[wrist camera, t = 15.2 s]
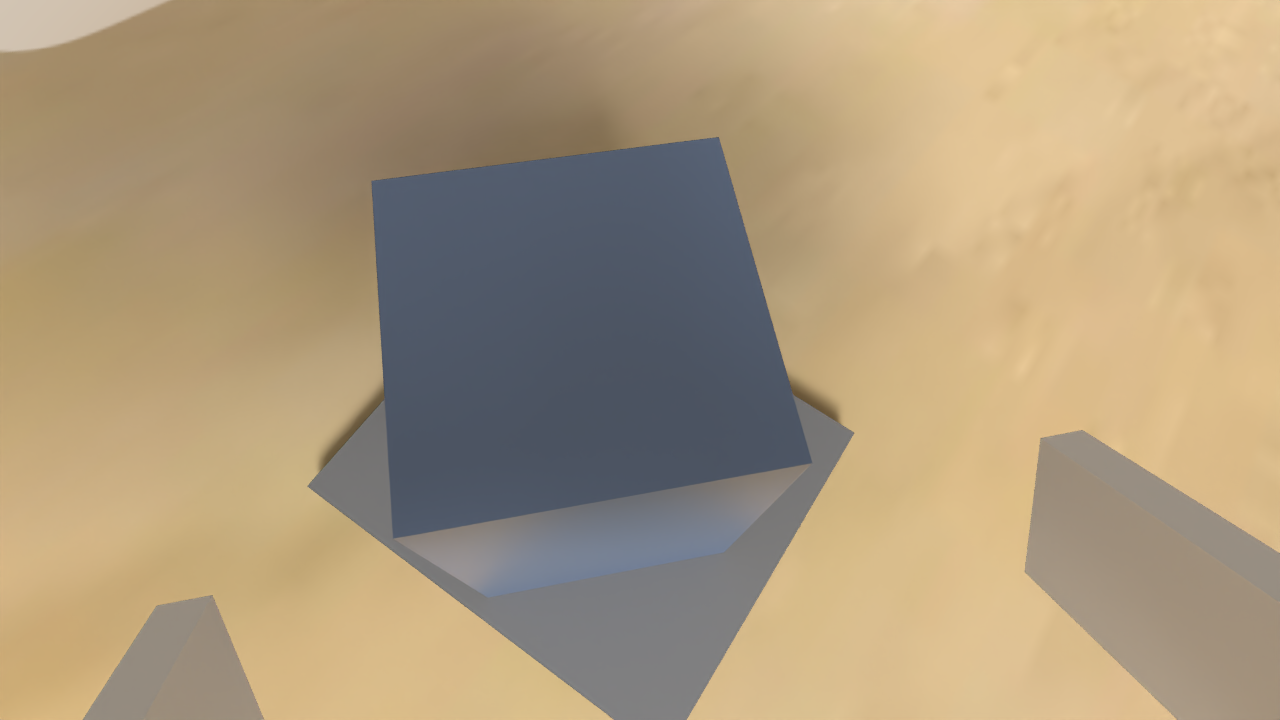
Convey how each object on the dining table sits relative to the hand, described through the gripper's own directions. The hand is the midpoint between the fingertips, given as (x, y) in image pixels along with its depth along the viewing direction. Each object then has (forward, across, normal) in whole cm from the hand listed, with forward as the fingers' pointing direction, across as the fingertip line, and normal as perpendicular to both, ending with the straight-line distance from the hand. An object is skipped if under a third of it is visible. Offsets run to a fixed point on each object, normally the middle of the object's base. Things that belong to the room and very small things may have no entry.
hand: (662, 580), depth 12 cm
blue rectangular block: (+12, 0, -5) cm, 13 cm away
